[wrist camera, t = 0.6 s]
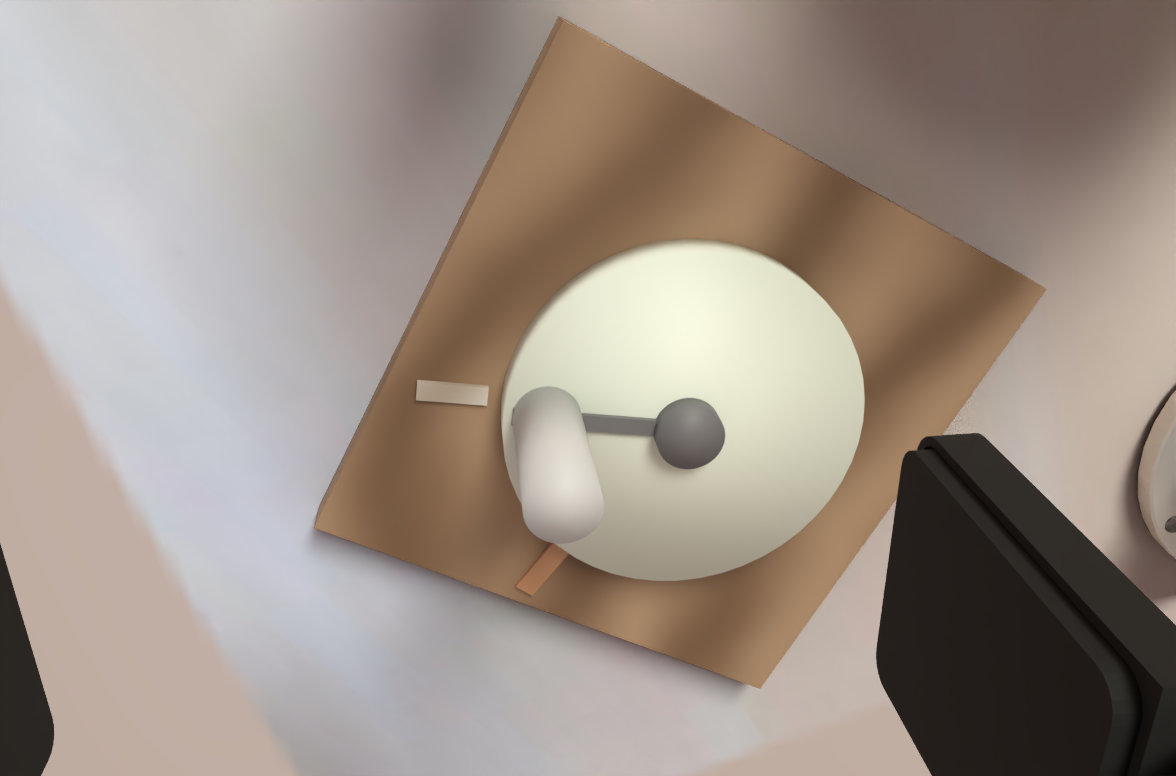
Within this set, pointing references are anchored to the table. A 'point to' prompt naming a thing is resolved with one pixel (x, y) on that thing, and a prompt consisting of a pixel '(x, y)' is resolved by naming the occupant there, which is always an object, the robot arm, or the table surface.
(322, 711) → the table surface
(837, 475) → the dial
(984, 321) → the dial base
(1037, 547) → the robot arm
